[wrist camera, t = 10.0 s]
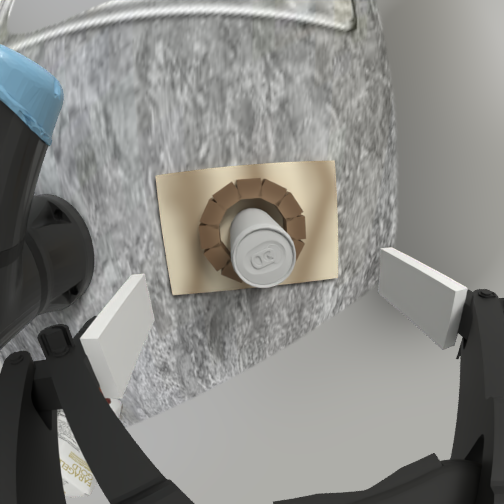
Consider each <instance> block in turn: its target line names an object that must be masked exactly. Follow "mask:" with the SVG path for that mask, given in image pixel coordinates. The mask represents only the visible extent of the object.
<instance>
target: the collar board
mask: <svg viewBox="0 0 504 504" xmlns="http://www.w3.org/2000/svg"><path fill="white" fill-rule="evenodd" d="M156 185H157V194H158V203H159V211H160V219H161V226H162V233H163V240H164V247H165V253H166V259H167V265H168V271H169V277H170V283H171V288H172V294H173V295H181V294H193V293H205V292H216V291H226V290H237V289H246V288H256V287H253V286H251V285H249V284H247V283H245V282H244V281H243V280H242V279H241V278H240V277H239V276H238V275H237V273H236V272H235V270H234V268H233V265H232V262H231V246H230V226H231V222H232V221H233V219H234V217H235V216H236V215H237V214H238V213H239V212H241V211H242V210H244V209H247V208H258V209H261V210H263V211H265V212H266V213H267V214H268V215H269V216H270V217H271V218H272V219H273V220H274V221H275V222H276V223H277V224H278V225H280V226H281V227H282V228H283V229H284V230H285V231H286V232H287V233H288V234H289V236H290V237H291V239H292V241H293V242H294V246H295V252H296V262H295V265H294V269H293V270H292V272H291V274H290V275H289V276H288V277H287V278H286V279H285V280H284V281H283V282H282V283H280V284H278V285H283V284H292V283H301V282H309V281H317V280H325V279H333V278H338V219H337V193H336V174H335V161H304V162H283V163H267V164H253V165H241V166H230V167H220V168H210V169H201V170H193V171H185V172H178V173H170V174H163V175H157V176H156Z"/></svg>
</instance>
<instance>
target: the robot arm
mask: <svg viewBox="0 0 504 504" xmlns="http://www.w3.org/2000/svg"><path fill="white" fill-rule="evenodd" d="M63 100H64V94H63V89H62V87H61V85H60V83H59V81H58V80H57V79H56V78H55V77H54V76H53V75H52V74H50V73H49V72H48V71H47V70H45V69H44V68H43V67H41V66H40V65H38V64H37V63H35V62H33V61H32V60H30V59H29V58H27V57H25V56H23V55H22V54H20V53H18V52H16V51H14V50H12V49H10V48H8V47H6V46H3V45H1V44H0V350H1V349H2V348H3V347H4V346H5V345H6V344H7V343H8V342H9V341H10V340H11V339H12V338H13V337H14V336H15V335H16V334H18V333H19V332H20V331H21V330H22V329H23V328H24V327H25V326H26V325H27V324H29V323H30V322H31V321H32V320H33V319H34V318H35V317H36V316H37V315H39V314H44V313H48V312H52V311H57V310H61V309H64V308H66V307H68V306H70V305H71V304H73V303H74V302H75V301H76V300H77V299H78V298H79V297H81V296H82V295H83V293H84V292H85V291H86V289H87V288H88V286H89V284H90V281H91V278H92V274H93V269H94V251H93V245H92V240H91V237H90V234H89V231H88V228H87V226H86V224H85V222H84V221H83V219H82V217H81V216H80V214H79V213H78V212H77V211H76V209H75V208H74V207H73V206H72V205H71V204H69V203H68V202H67V201H65V200H64V199H62V198H60V197H57V196H54V195H48V194H44V195H37V196H33V195H34V191H35V188H36V184H37V180H38V177H39V173H40V170H41V166H42V163H43V160H44V157H45V154H46V151H47V148H48V146H50V145H51V143H52V139H51V137H52V133H53V130H54V127H55V124H56V121H57V119H58V116H59V113H60V110H61V108H62V105H63ZM378 293H379V294H380V295H381V296H383V298H385V299H386V300H387V301H388V302H389V303H391V304H392V305H393V306H394V307H395V308H396V309H398V310H399V311H400V312H401V313H402V314H403V315H404V316H406V317H407V318H408V319H409V320H410V321H411V322H413V323H414V324H415V325H416V326H417V327H418V328H419V329H420V330H421V331H422V332H424V333H425V334H426V335H427V336H428V337H429V338H430V339H431V340H432V341H433V342H435V343H436V344H437V345H438V346H439V347H440V348H441V349H442V350H443V349H446V348H449V347H451V346H454V345H455V342H456V338H457V334H458V333H459V334H460V335H461V336H462V337H463V338H462V342H461V345H460V348H459V352H458V355H457V358H456V359H459V356H461V363H460V389H459V402H458V403H459V404H458V413H457V422H456V429H455V436H454V443H453V449H452V454H451V458H450V460H443V461H439V460H438V457H437V456H436V455H435V453H433V454H431V455H429V456H427V457H425V458H422V459H420V460H418V461H416V462H413V463H411V464H409V465H407V466H404V467H402V468H400V469H399V470H397V471H396V472H395V473H393V474H392V475H390V476H388V477H387V478H385V479H384V480H382V481H381V482H379V483H378V484H376V485H374V486H373V487H371V488H369V489H367V490H364V491H356V492H343V493H325V494H315V495H310V496H305V497H299V498H294V499H289V500H281V501H275V502H273V504H504V298H498V296H497V295H496V294H495V293H494V292H492V291H490V290H487V289H479V290H475V291H474V292H472V291H470V290H468V288H466V287H465V286H463V285H461V284H459V283H457V282H455V281H454V280H452V279H450V278H449V277H447V276H445V275H443V274H441V273H440V272H437V271H436V270H434V269H432V268H430V267H428V266H427V265H425V264H423V263H421V262H419V261H417V260H415V259H413V258H411V257H409V256H407V255H406V254H404V253H402V252H399V251H398V250H396V249H394V248H392V247H390V248H382V249H381V254H380V273H379V287H378ZM154 320H155V318H154V314H153V310H152V306H151V301H150V297H149V292H148V287H147V283H146V278H145V274H136V275H131V276H130V277H129V279H128V280H127V281H126V282H125V283H124V284H123V286H122V287H121V288H120V289H119V290H118V292H117V293H116V294H115V295H114V296H113V298H112V299H111V300H110V301H109V302H108V304H107V305H106V306H105V307H104V309H103V310H102V311H101V312H100V313H99V315H98V316H94V317H93V318H91V319H90V320H88V321H87V322H86V323H85V324H84V326H83V327H82V328H81V329H80V331H79V333H77V334H76V336H75V337H74V338H72V336H71V333H70V330H69V327H68V326H67V325H63V324H58V325H53V326H50V327H48V328H45V329H44V330H42V331H41V332H40V333H39V335H38V341H39V343H40V346H41V348H42V350H43V353H44V355H45V357H46V360H40V361H34V362H33V360H32V357H31V355H30V353H29V352H27V351H19V352H14V353H13V354H10V355H9V357H8V358H6V360H5V361H4V364H3V367H2V370H1V373H0V504H66V500H65V494H64V488H63V482H62V474H61V466H60V457H59V445H58V426H57V409H63V411H64V414H65V416H66V419H67V421H68V424H69V426H70V428H71V431H72V433H73V435H74V438H75V440H76V442H77V444H78V446H79V448H80V450H81V452H82V454H83V456H84V458H85V460H86V462H87V464H88V466H89V468H90V470H91V472H92V474H93V475H94V477H95V479H96V481H97V482H98V484H99V486H100V488H101V489H102V491H103V493H104V494H105V496H106V497H107V499H108V501H109V502H110V504H194V503H193V502H192V501H191V500H190V499H189V498H188V497H187V496H186V495H185V494H184V493H183V492H182V491H181V490H180V489H179V488H178V487H177V486H176V485H175V484H174V483H173V482H172V481H171V480H167V479H166V478H165V477H164V476H163V475H162V474H161V473H160V471H159V470H158V469H157V468H156V467H155V466H154V465H153V463H152V462H151V461H150V460H149V458H148V457H147V456H146V455H145V453H144V452H143V451H142V450H141V448H140V447H139V446H138V445H137V444H136V442H135V441H134V439H133V438H132V437H131V435H130V434H129V433H128V431H127V430H126V429H125V427H124V426H123V424H122V423H121V421H120V420H119V419H118V417H117V416H116V414H115V413H114V411H113V410H112V408H111V407H110V405H109V404H108V402H107V401H106V399H105V398H114V399H122V398H123V395H124V393H125V390H126V387H127V385H128V382H129V380H130V377H131V375H132V372H133V370H134V367H135V365H136V362H137V360H138V358H139V355H140V353H141V350H142V348H143V346H144V343H145V341H146V339H147V336H148V334H149V332H150V329H151V327H152V325H153V322H154ZM99 387H100V389H101V391H102V393H103V394H102V393H101V391H100V389H99ZM103 395H104V396H103Z"/></svg>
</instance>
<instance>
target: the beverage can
mask: <svg viewBox="0 0 504 504" xmlns="http://www.w3.org/2000/svg"><path fill="white" fill-rule="evenodd" d="M230 246H231V262H232V265H233V268H234V270H235V272H236V273H237V275H238V276H239V277H240V278H241V279H242V280H243V281H244V282H245V283H247V284H249V285H251V286H253V287H258V288H270V287H273V286H276V285H278V284H280V283H282V282H283V281H284V280H285V279H286V278H287V277H288V276H289V275H290V274H291V272H292V270H293V269H294V265H295V262H296V252H295V246H294V242H293V241H292V239H291V237H290V236H289V234H288V233H287V232H286V231H285V230H284V229H283V228H282V227H281V226H280V225H278V224H277V223H276V222H275V221H274V220H273V219H272V218H271V217H270V216H269V215H268V214H267V213H266V212H265V211H263V210H261V209H258V208H247V209H244V210H242V211H241V212H239V213H238V214H237V215H236V216H235V217H234V219H233V221H232V222H231V226H230Z"/></svg>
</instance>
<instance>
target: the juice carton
mask: <svg viewBox="0 0 504 504" xmlns="http://www.w3.org/2000/svg"><path fill="white" fill-rule="evenodd" d="M99 389H100V387H99ZM100 391H101V389H100ZM101 393H102V391H101ZM102 394H103V393H102ZM103 396H104V395H103ZM105 399H106V401H107V402H108V404H109V405H110V407H111V408H112V410H113V411H114V413H115V414H116V416H117V417H118V419H119V416H120V412H121V407H122V402H121V401H120V400H119V399H114V398H105ZM57 426H58V445H59V457H60V466H61V474H62V482H63V488H64V494H65V495H66V496H67V497H80V496H89V495H90V494H91V493H92V491H93V489H94V487H95V485H96V483H97V481H96V479H95V477H94V475H93V474H92V472H91V470H90V468H89V466H88V464H87V462H86V460H85V458H84V456H83V454H82V452H81V450H80V448H79V446H78V444H77V442H76V440H75V438H74V435H73V433H72V431H71V428H70V426H69V424H68V421H67V419H66V416H65V414H64V411H63V409H57Z"/></svg>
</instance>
